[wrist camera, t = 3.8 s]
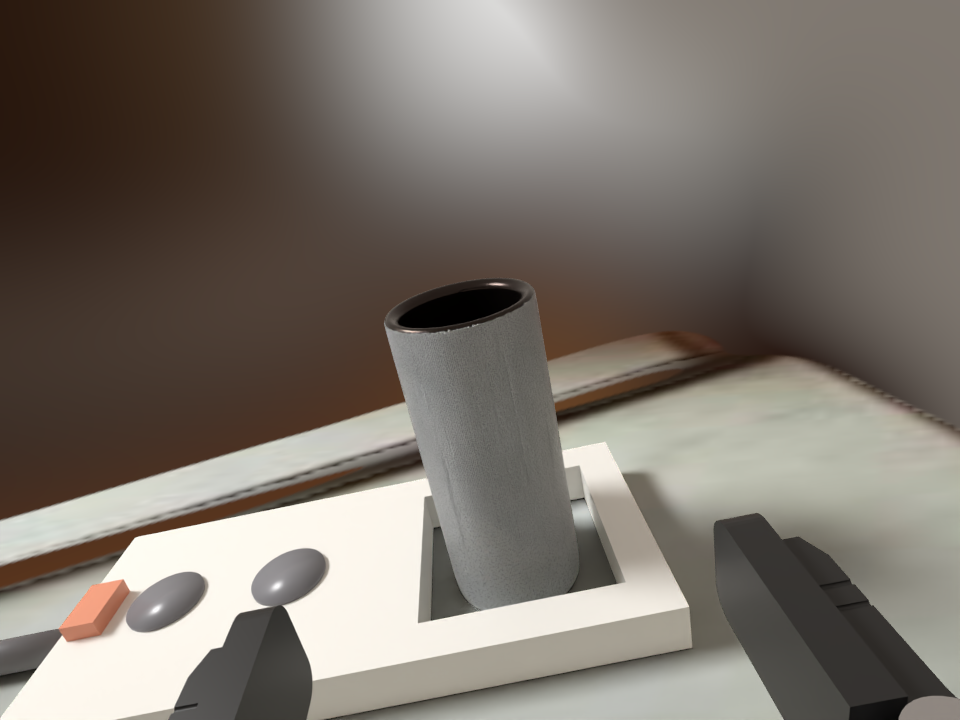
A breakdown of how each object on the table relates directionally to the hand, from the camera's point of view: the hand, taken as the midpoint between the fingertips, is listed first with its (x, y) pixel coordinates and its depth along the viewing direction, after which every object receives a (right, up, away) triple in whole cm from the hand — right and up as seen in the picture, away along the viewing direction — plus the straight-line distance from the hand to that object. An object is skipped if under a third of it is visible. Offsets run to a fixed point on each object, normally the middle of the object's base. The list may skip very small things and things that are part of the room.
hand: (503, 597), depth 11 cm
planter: (+1, -3, +10) cm, 11 cm away
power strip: (-8, -5, +10) cm, 14 cm away
